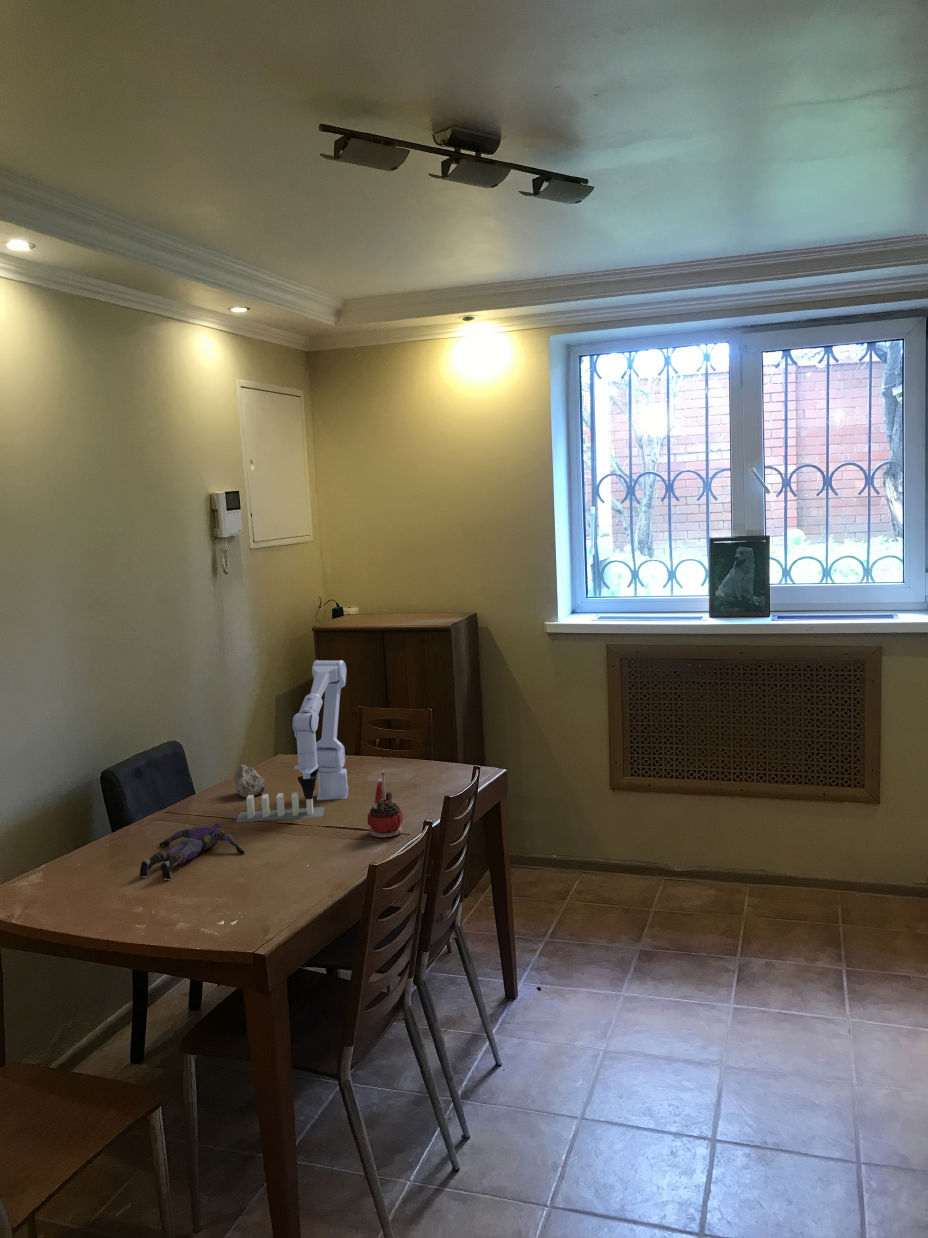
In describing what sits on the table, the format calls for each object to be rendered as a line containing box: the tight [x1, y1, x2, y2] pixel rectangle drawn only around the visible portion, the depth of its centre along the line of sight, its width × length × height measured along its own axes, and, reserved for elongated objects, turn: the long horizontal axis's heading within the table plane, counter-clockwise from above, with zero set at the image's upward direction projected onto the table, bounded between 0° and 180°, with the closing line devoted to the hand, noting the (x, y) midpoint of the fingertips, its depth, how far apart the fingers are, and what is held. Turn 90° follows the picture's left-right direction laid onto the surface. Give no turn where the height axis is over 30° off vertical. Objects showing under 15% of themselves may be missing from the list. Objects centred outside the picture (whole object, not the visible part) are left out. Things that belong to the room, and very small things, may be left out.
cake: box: [367, 771, 404, 838], centre depth 273 cm, size 11×9×18 cm
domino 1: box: [246, 795, 256, 818], centre depth 293 cm, size 2×4×6 cm, turn 4°
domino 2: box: [261, 793, 270, 817], centre depth 293 cm, size 2×4×6 cm, turn 4°
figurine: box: [139, 822, 245, 880], centre depth 261 cm, size 27×6×30 cm
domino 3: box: [276, 792, 285, 817], centre depth 293 cm, size 2×4×6 cm, turn 5°
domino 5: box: [305, 797, 314, 815], centre depth 294 cm, size 2×4×6 cm, turn 5°
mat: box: [235, 806, 326, 823], centre depth 294 cm, size 26×9×1 cm, turn 94°
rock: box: [234, 764, 266, 799], centre depth 314 cm, size 9×12×10 cm
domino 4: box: [291, 791, 300, 816], centre depth 294 cm, size 2×4×6 cm, turn 5°
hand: (309, 795), depth 294 cm, fingers open, 7 cm apart
